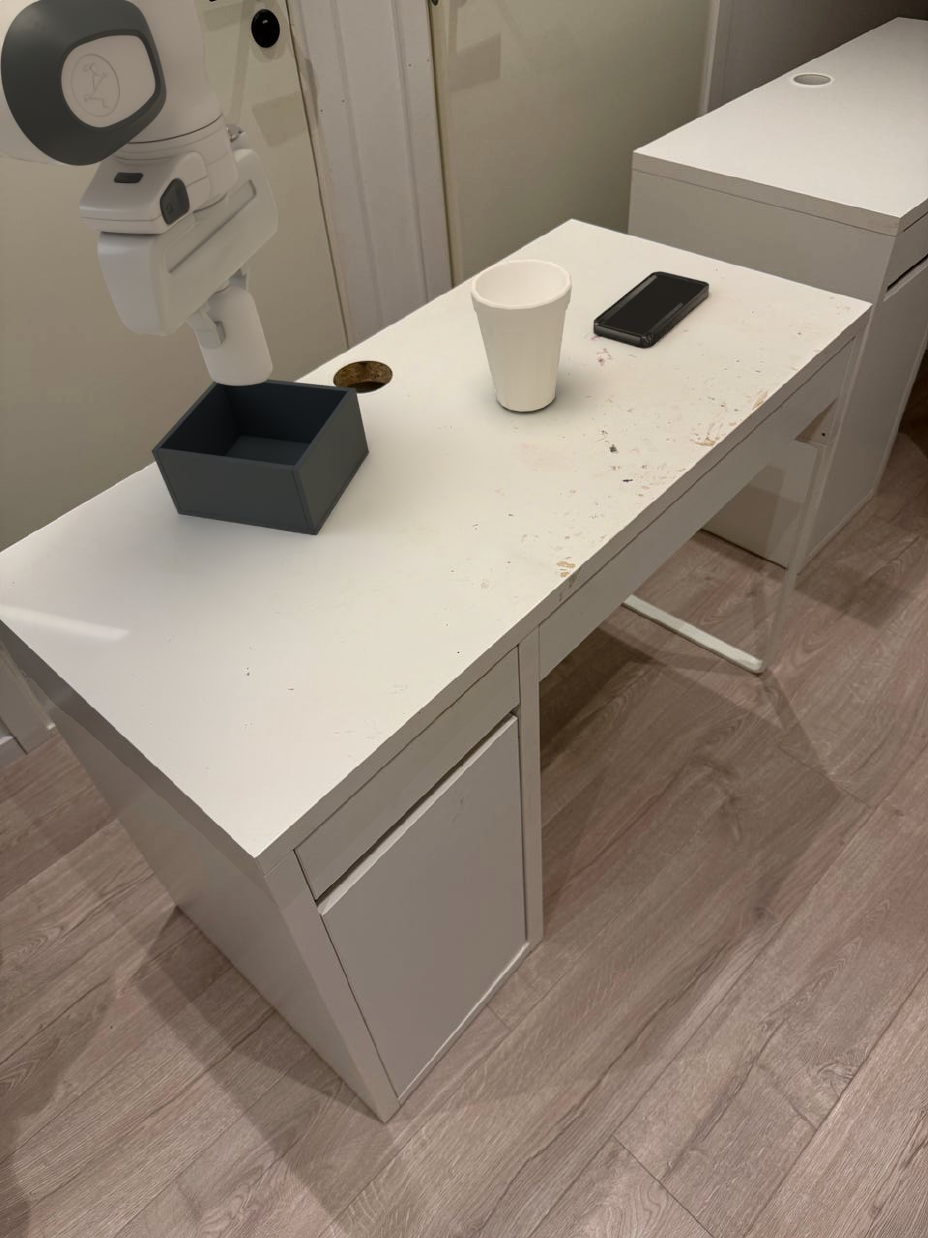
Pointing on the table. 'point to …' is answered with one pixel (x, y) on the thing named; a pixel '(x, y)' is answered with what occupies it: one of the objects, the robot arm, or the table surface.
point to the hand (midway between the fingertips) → (227, 330)
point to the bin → (264, 453)
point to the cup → (522, 328)
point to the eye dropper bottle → (237, 339)
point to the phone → (651, 308)
